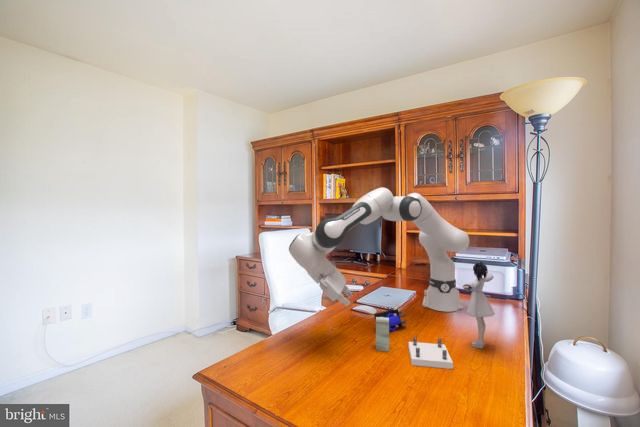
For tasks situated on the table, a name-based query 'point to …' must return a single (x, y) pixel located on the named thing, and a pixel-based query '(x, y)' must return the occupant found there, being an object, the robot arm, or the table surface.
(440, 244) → the robot arm
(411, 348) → the display base
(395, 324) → the character figurine
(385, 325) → the sage block
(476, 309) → the figurine
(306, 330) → the table surface
